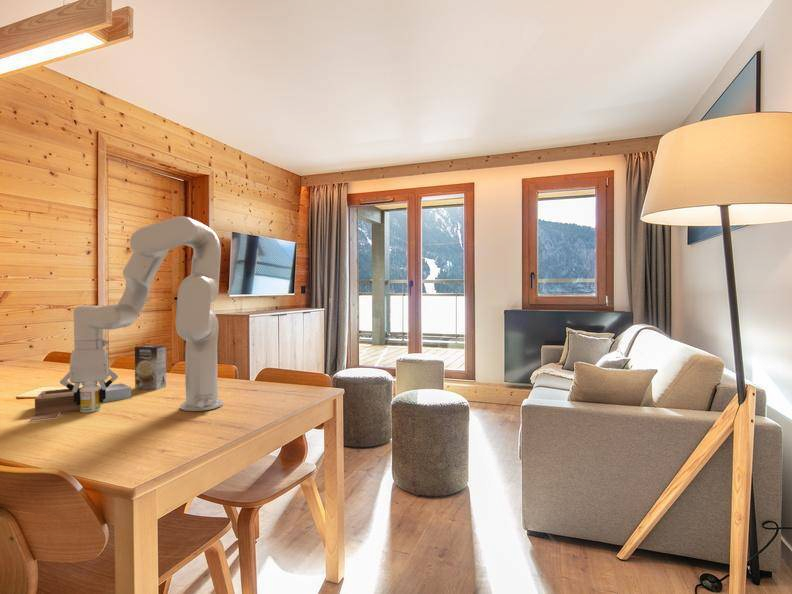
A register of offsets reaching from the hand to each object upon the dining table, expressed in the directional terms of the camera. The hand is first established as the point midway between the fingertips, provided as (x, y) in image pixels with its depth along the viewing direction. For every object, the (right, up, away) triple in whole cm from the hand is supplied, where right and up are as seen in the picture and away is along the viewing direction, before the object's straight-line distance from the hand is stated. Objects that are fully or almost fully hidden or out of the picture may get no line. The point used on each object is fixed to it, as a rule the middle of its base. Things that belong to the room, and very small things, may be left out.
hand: (90, 402), depth 141 cm
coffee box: (+2, -2, +31) cm, 31 cm away
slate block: (-3, -2, +16) cm, 16 cm away
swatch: (-9, -3, -7) cm, 11 cm away
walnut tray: (-11, -2, +3) cm, 12 cm away
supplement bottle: (0, -3, 0) cm, 3 cm away
